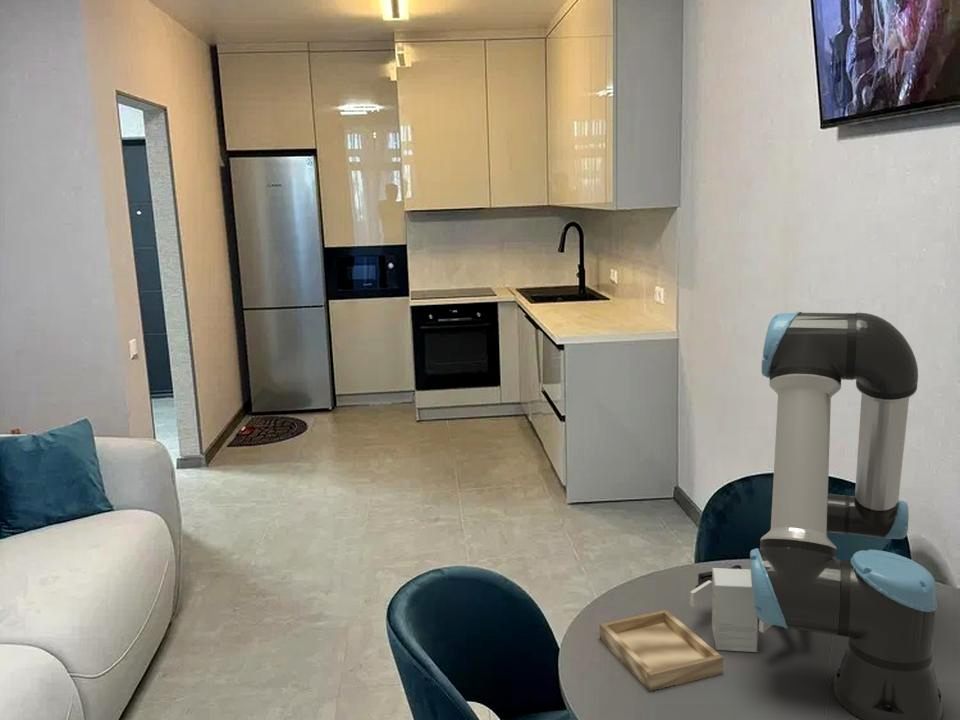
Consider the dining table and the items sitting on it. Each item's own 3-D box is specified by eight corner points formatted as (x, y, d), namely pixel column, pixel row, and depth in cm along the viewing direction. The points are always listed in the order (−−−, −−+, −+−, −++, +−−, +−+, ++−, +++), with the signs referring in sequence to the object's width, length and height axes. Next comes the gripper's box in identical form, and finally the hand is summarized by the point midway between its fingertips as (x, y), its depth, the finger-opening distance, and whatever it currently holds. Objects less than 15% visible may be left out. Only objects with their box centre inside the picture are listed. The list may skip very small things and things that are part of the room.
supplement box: (752, 632, 146) (753, 568, 144) (757, 653, 139) (759, 587, 137) (711, 629, 148) (711, 566, 145) (714, 650, 140) (715, 584, 138)
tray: (722, 673, 133) (723, 657, 133) (650, 691, 129) (650, 675, 128) (665, 623, 150) (665, 609, 150) (599, 638, 146) (599, 623, 145)
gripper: (845, 611, 146) (792, 656, 132) (723, 571, 164) (665, 608, 150) (846, 573, 145) (794, 615, 130) (723, 537, 163) (665, 571, 148)
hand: (725, 611), depth 140 cm, fingers open, 13 cm apart
